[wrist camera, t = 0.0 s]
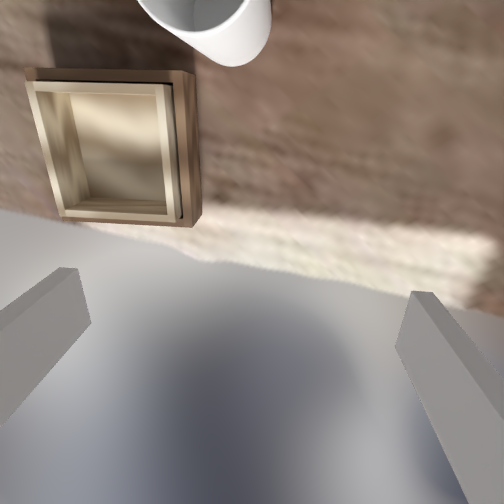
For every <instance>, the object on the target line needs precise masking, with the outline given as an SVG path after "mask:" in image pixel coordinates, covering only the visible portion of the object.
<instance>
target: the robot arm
mask: <svg viewBox="0 0 504 504" xmlns="http://www.w3.org/2000/svg"><path fill="white" fill-rule="evenodd" d="M90 324H91V320H90V316H89V312H88V308H87V304H86V300H85V296H84V292H83V288H82V284H81V280H80V276H79V272H78V269H75V268H58V269H57V270H56V271H54V272H53V273H51V274H50V275H49V276H47V277H46V278H44V279H43V280H42V281H41V282H39V283H38V284H37V285H35V286H34V287H32V288H31V289H29V290H28V291H27V292H25V293H24V294H23V295H21V296H20V297H18V298H17V299H16V300H14V301H13V302H12V303H10V304H9V305H8V306H6V307H5V308H3V309H2V310H1V311H0V427H1V426H2V425H3V424H4V423H5V422H6V421H7V419H8V418H9V417H10V416H11V415H12V414H13V412H14V411H15V410H16V409H17V408H18V407H19V406H20V405H21V403H22V402H23V401H24V400H25V399H26V397H27V396H28V395H29V394H30V393H31V392H32V391H33V390H34V388H35V387H36V386H37V385H38V384H39V383H40V381H41V380H42V379H43V378H44V377H45V376H46V375H47V373H48V372H49V371H50V370H51V369H52V368H53V367H54V365H55V364H56V363H57V362H58V361H59V360H60V359H61V357H62V356H63V355H64V354H65V353H66V352H67V350H68V349H69V348H70V347H71V346H72V345H73V344H74V343H75V341H76V340H77V339H78V338H79V337H80V336H81V334H82V333H83V332H84V331H85V330H86V329H87V327H88V326H89V325H90ZM395 348H396V350H397V352H398V355H399V357H400V359H401V361H402V363H403V365H404V367H405V369H406V371H407V374H408V376H409V378H410V380H411V382H412V384H413V386H414V388H415V391H416V393H417V395H418V397H419V399H420V401H421V403H422V405H423V407H424V409H425V412H426V414H427V416H428V418H429V420H430V422H431V424H432V426H433V429H434V430H435V433H436V435H437V437H438V439H439V441H440V443H441V445H442V448H443V450H444V452H445V454H446V456H447V458H448V460H449V462H450V464H451V467H452V469H453V470H454V473H455V475H456V477H457V479H458V481H459V483H460V486H461V488H462V490H463V492H464V494H465V496H466V498H467V500H468V502H469V504H504V380H503V378H502V377H501V376H500V374H499V373H498V372H497V371H496V370H495V368H494V367H493V366H492V365H491V363H490V362H489V361H488V360H487V359H486V357H485V356H484V355H483V354H482V352H481V351H480V350H479V349H478V347H477V346H476V345H475V344H474V342H473V341H472V340H471V339H470V338H469V336H468V335H467V334H466V333H465V331H464V330H463V329H462V328H461V327H460V325H459V324H458V323H457V322H456V320H455V319H454V318H453V317H452V316H451V314H450V313H449V312H448V311H447V309H446V308H445V307H444V306H443V304H442V303H441V302H440V301H439V299H438V298H437V297H436V296H435V295H434V293H433V292H422V291H411V294H410V298H409V301H408V305H407V308H406V311H405V315H404V318H403V321H402V325H401V328H400V331H399V335H398V338H397V342H396V345H395Z"/></svg>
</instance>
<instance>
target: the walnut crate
mask: <svg viewBox="0 0 504 504" xmlns="http://www.w3.org/2000/svg"><path fill="white" fill-rule="evenodd" d="M23 68H24V72H25V76H26V80H27V81H35V82H78V83H121V84H163V85H169V86H173V89H174V102H175V115H176V128H177V141H178V155H179V168H180V181H181V194H182V207H183V215H182V216H181V217H180V218H179V219H178V220H177V221H176V222H157V221H138V220H120V219H101V218H82V217H64V216H62V219H63V221H80V222H98V223H117V224H135V225H153V226H172V227H190V228H192V227H193V226H194V225H195V223H196V222H197V221H198V219H199V218H200V216H201V215H202V200H201V180H200V159H199V138H198V117H197V97H196V76H195V75H193V74H190V73H188V72H185V71H178V70H129V69H79V68H30V67H23Z"/></svg>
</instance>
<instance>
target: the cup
mask: <svg viewBox="0 0 504 504" xmlns="http://www.w3.org/2000/svg"><path fill="white" fill-rule="evenodd" d="M137 1H138V2H139V3H140V5H141V6H142V7H143V9H144V10H145V11H146V12H147V13H148V14H149V15H150V16H151V17H152V18H153V19H154V20H155V21H156V22H157V23H158V24H160V25H161V26H162V27H164V28H165V29H167V30H168V31H170V32H171V33H173V34H174V35H176V36H177V37H179V38H180V39H182V40H183V41H185V42H186V43H188V44H189V45H191V46H192V47H194V48H195V49H197V50H198V51H200V52H201V53H203V54H204V55H206V56H207V57H209V58H210V59H211V60H213V61H215V62H216V63H218V64H221V65H224V66H240V65H243V64H246V63H248V62H249V61H251V60H252V59H254V58H255V57H256V56H257V55H258V54H259V53H260V51H261V50H262V49H263V47H264V45H265V44H266V41H267V39H268V36H269V33H270V29H271V20H272V14H271V3H270V0H137Z"/></svg>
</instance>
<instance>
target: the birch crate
mask: <svg viewBox="0 0 504 504" xmlns="http://www.w3.org/2000/svg"><path fill="white" fill-rule="evenodd" d="M25 85H26V89H27V93H28V97H29V101H30V104H31V108H32V112H33V116H34V120H35V124H36V127H37V131H38V135H39V139H40V143H41V147H42V150H43V154H44V158H45V162H46V166H47V170H48V173H49V177H50V181H51V185H52V189H53V193H54V196H55V200H56V204H57V208H58V212H59V216H64V217H82V218H101V219H120V220H138V221H157V222H176V221H177V220H178V219H179V218H180V217H181V216H182V215H183V207H182V194H181V181H180V168H179V155H178V141H177V128H176V115H175V102H174V89H173V86H169V85H163V84H121V83H78V82H35V81H25Z"/></svg>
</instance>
